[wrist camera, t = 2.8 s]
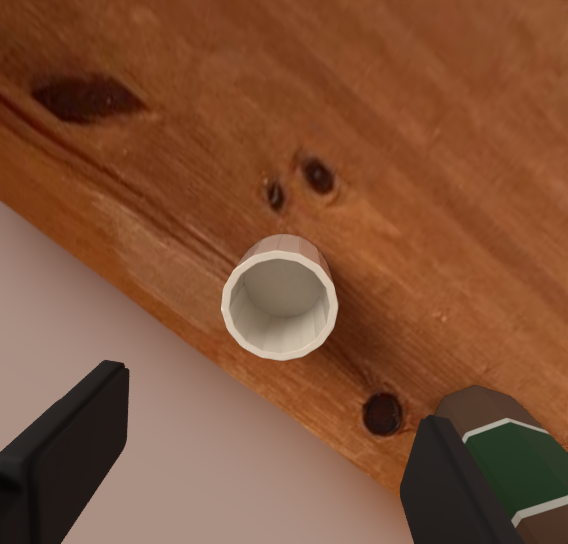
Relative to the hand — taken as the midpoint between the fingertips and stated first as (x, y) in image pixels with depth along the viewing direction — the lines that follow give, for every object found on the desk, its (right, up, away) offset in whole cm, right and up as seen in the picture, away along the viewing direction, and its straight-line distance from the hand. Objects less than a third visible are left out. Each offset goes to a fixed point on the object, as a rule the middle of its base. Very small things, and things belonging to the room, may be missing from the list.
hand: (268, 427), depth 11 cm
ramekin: (+1, +4, +16) cm, 17 cm away
